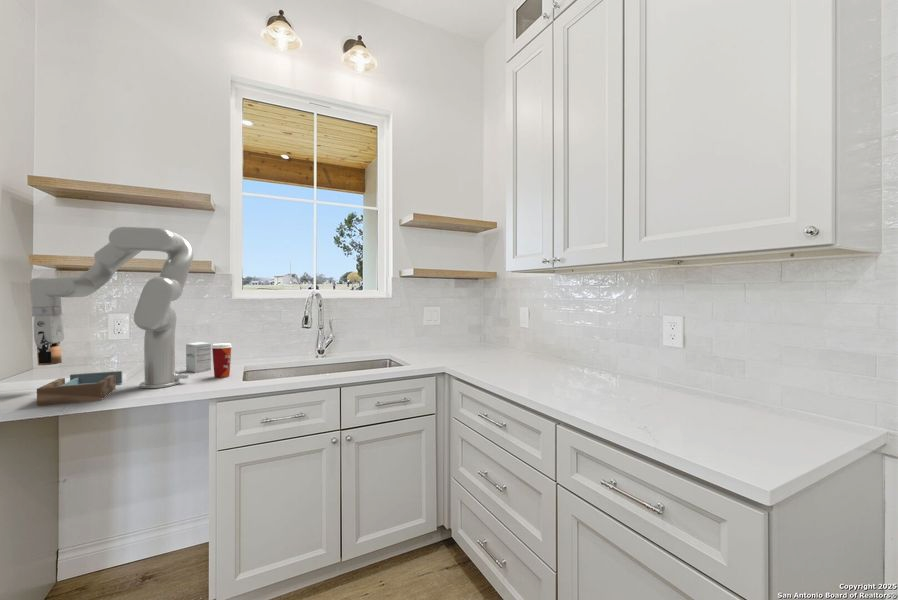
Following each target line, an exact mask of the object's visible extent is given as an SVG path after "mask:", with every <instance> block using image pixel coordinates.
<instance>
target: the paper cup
mask: <svg viewBox="0 0 898 600" xmlns="http://www.w3.org/2000/svg"><path fill="white" fill-rule="evenodd" d="M232 347H233V346H232V342H231V343H229V342H227V343H226V342H222V343H213V344H211V352H212V363H213V374H214V375H213V377H214V378H215V379H224V378H228V377H230V373H231V357H232Z"/></svg>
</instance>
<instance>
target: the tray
mask: <svg viewBox="0 0 898 600" xmlns="http://www.w3.org/2000/svg"><path fill="white" fill-rule="evenodd" d="M109 375H115V382H116V385H122V384H123V370H117V371H116V370H115V371H99V372H87V373H72V374H69V381H67V382H65V384H63V385H61V386H72V385H85V384H96V383H98V382H99V381H101V380H103V379H104V378H106V377H107V376H109Z"/></svg>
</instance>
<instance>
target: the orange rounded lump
mask: <svg viewBox="0 0 898 600" xmlns="http://www.w3.org/2000/svg"><path fill="white" fill-rule="evenodd" d="M61 347H62V346H61V345H60V346H50V351H51V358H52V362H51V363H42V364H39V358H38V348H37V347H36V356H37V357H36V358H37V366H51V365H58V364H61V363H62V348H61ZM50 351H49V352H50Z"/></svg>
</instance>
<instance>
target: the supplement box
mask: <svg viewBox="0 0 898 600" xmlns="http://www.w3.org/2000/svg"><path fill="white" fill-rule="evenodd" d="M211 347H212V343H211V342H204V341H197V342H196V341H195V342H190V343H189V342H188V343H186V344H185V371H186V372H192V373H200V372H205V371H211V370H212V348H211Z"/></svg>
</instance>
